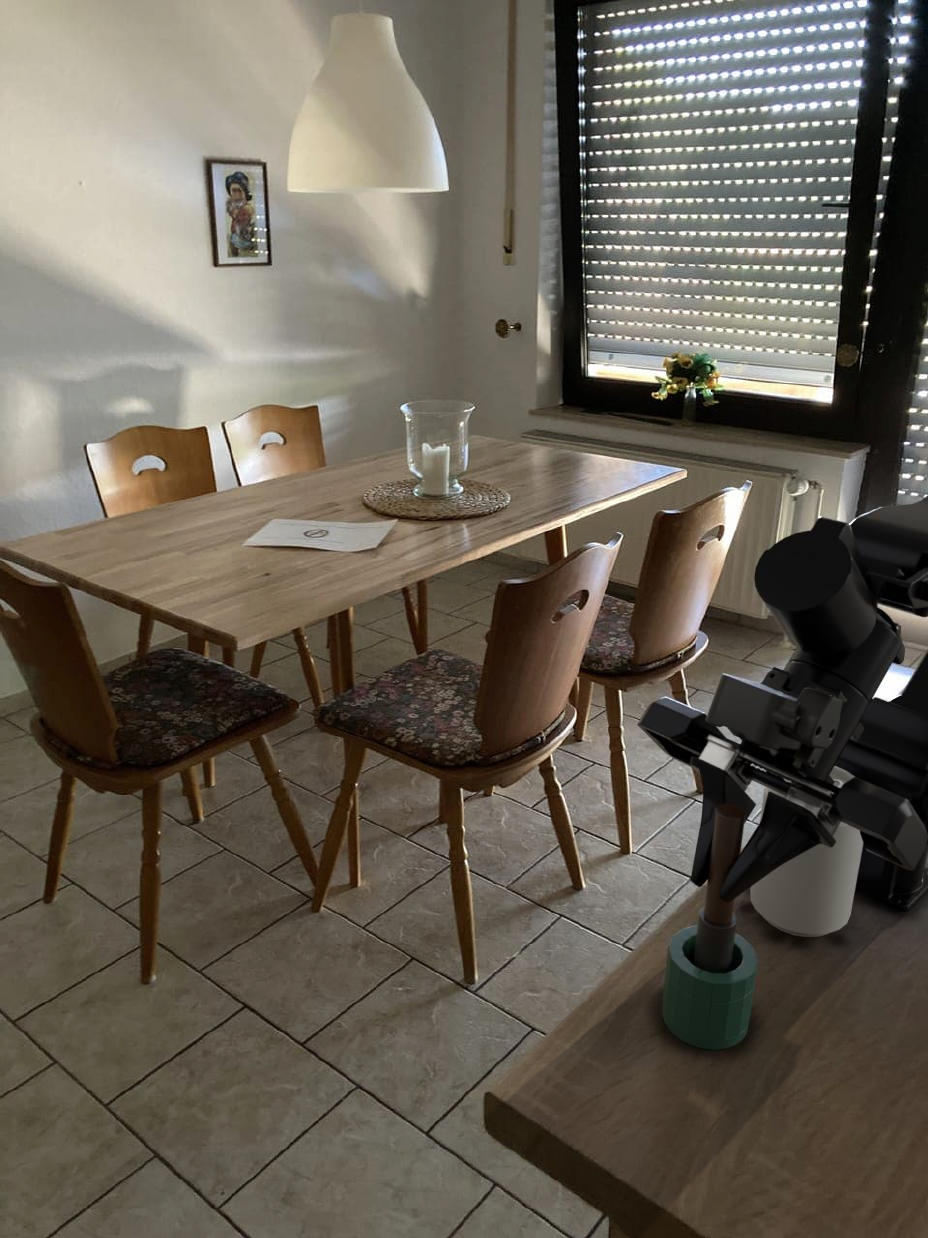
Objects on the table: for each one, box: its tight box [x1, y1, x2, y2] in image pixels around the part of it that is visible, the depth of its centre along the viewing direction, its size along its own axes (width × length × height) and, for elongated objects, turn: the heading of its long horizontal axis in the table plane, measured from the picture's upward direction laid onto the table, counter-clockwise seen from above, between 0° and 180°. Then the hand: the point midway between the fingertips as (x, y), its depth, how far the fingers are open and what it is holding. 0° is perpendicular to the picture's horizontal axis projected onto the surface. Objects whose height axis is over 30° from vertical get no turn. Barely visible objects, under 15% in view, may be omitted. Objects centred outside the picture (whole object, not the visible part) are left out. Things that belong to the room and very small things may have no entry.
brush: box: [694, 803, 746, 973], centre depth 66 cm, size 2×2×12 cm
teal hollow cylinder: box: [661, 924, 759, 1051], centre depth 69 cm, size 6×6×6 cm
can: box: [749, 766, 863, 938], centre depth 78 cm, size 8×8×12 cm
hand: (708, 892), depth 65 cm, fingers closed on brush, 2 cm apart
